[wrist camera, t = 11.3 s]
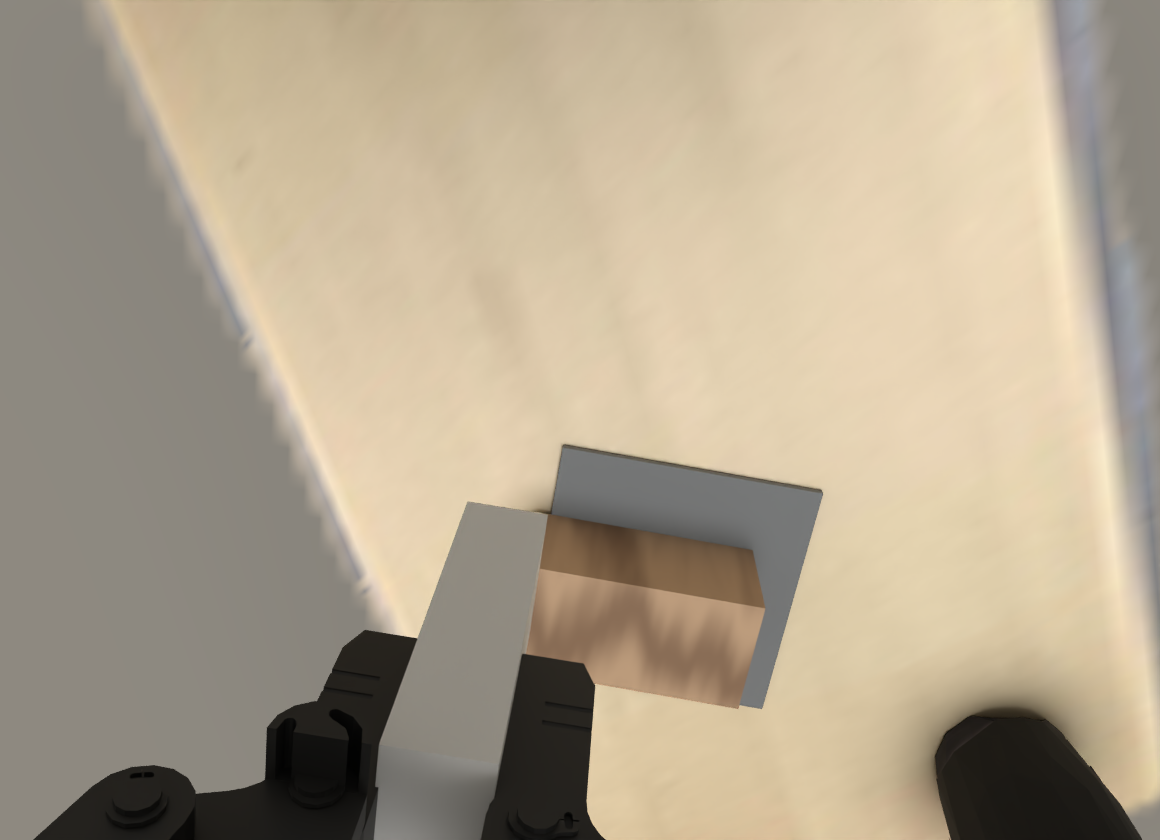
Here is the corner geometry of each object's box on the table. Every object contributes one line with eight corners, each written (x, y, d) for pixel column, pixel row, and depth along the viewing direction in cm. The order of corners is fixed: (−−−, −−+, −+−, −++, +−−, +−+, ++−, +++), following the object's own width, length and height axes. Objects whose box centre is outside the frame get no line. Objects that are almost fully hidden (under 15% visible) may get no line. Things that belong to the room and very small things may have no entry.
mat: (563, 444, 53) (562, 447, 53) (821, 490, 53) (823, 493, 53) (525, 663, 58) (524, 667, 58) (761, 704, 58) (762, 708, 58)
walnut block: (523, 565, 48) (765, 608, 48) (535, 511, 54) (752, 550, 54) (506, 668, 51) (738, 708, 51) (519, 605, 56) (728, 642, 56)
